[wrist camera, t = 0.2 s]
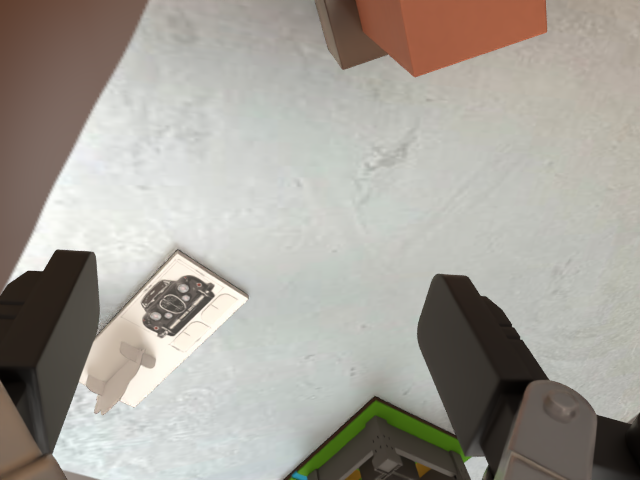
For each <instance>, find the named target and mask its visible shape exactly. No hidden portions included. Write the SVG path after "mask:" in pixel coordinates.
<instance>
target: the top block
mask: <svg viewBox="0 0 640 480" xmlns="http://www.w3.org/2000/svg"><path fill="white" fill-rule="evenodd" d="M356 4H357V9H358V13H359V17H360V21H361V26H362V30H363V32H364V33H365V34H366V35H367V36H368V37H369V38H371V39H372V40H373V41H374V42H375V43H376V44H377V45H379V46H380V47H381V48H382V49H383V50H384V51H385V52H386V53H388V54H389V55H390V56H391V57H392V58H393V59H394V60H396V61H397V62H398V63H399V64H400V65H401V66H402V67H403V68H405V69H406V70H407V71H408V72H409V73H410V74H411V75H412V76H414V77H417V76H420V75H423V74H426V73H429V72H432V71H435V70H438V69H441V68H444V67H447V66H450V65H453V64H455V63H458V62H461V61H464V60H467V59H470V58H473V57H476V56H479V55H482V54H485V53H488V52H491V51H494V50H497V49H499V48H502V47H505V46H508V45H511V44H514V43H517V42H520V41H523V40H526V39H529V38H532V37H535V36H538V35H541V34H543V33H546V32H547V18H546V0H356Z"/></svg>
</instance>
